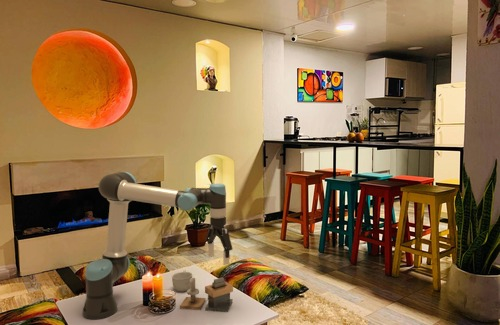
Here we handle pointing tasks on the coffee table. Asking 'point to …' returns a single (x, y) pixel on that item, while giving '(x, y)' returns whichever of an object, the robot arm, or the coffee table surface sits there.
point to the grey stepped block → (219, 298)
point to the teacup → (181, 281)
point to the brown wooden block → (218, 290)
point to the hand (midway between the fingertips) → (218, 260)
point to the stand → (192, 298)
